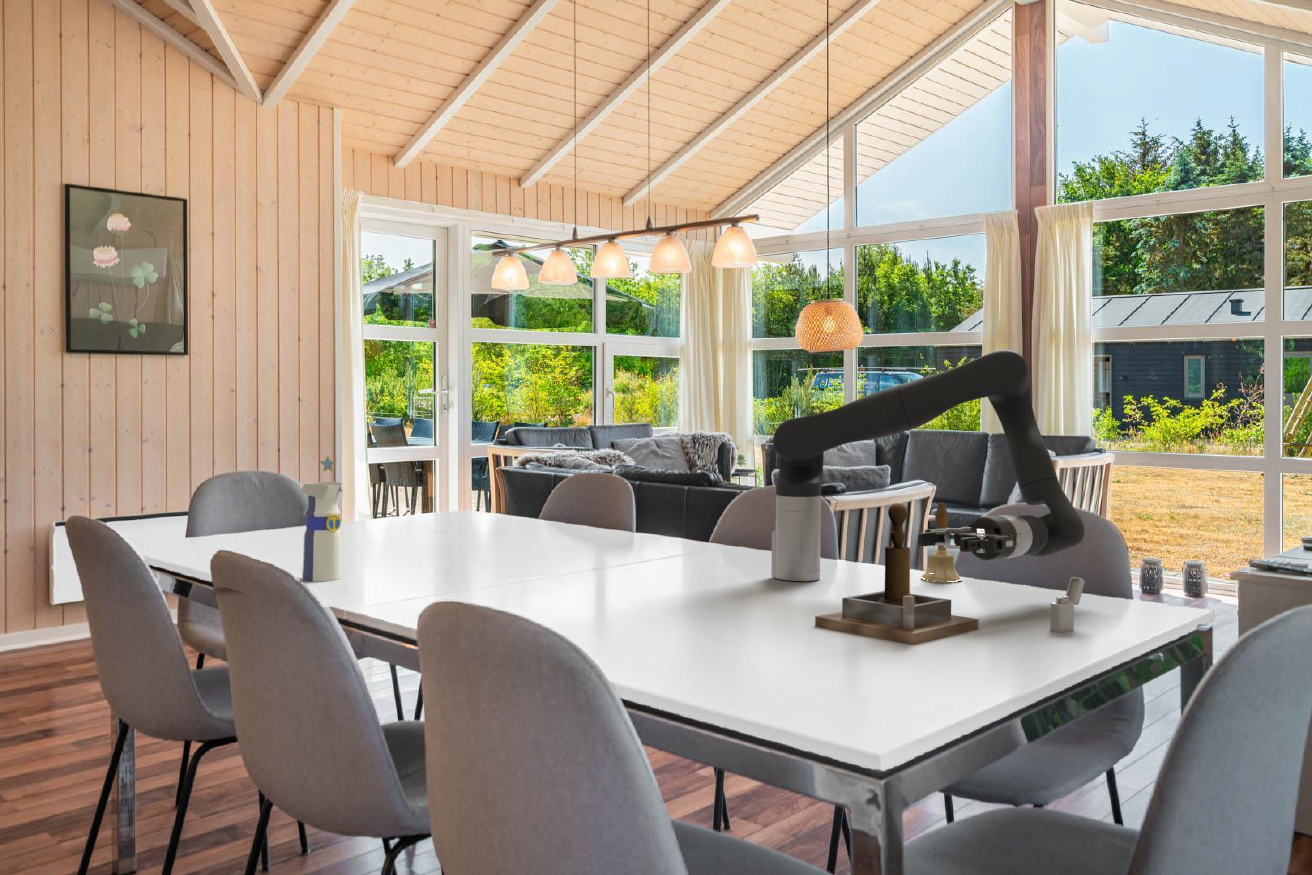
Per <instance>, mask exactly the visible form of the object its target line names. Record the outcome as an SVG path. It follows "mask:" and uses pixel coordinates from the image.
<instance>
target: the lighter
mask: <svg viewBox="0 0 1312 875" xmlns="http://www.w3.org/2000/svg"><path fill="white" fill-rule="evenodd" d="M1085 582H1086V581H1085V580H1084V579H1083V578H1081V577H1078V576H1070V579H1069V581H1068V585H1067V586H1068V587H1067V588H1066V589H1067V590H1066V593H1065V595H1060V596H1056V601H1055V602H1050V605H1049V606H1050V610H1049V611H1050V612H1049V618H1050V623H1049V624H1050V626H1049V627H1050V628H1049V630H1050V632H1054V633H1063V632H1068V631H1073V630H1074V628H1075V622H1074V620H1075V606H1078V605H1079V604H1080V600H1081V598H1082V594H1083V590H1084V586H1085Z"/></svg>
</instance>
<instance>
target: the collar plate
mask: <svg viewBox="0 0 1312 875" xmlns="http://www.w3.org/2000/svg"><path fill="white" fill-rule="evenodd" d="M882 597H885V590H882V591H876V592H871V593H870V592H869V593H864V594H858V595H853V596H847V597H845V596H844V597H842V600H841V601H842V602H841V604H842V605H841V606H842V608H841V609H842V610H841V611H838V612H833V613H827V614H822V615H815V616H814V626H815V627H819V628H824V629H830V630H836V631H841V632H845V633H850V634H856V635H860V636H861V635H862V636H866V637H872V638H876V639H881V640H887V641H893V642H896V643H897V642H899V643H904V644H909V645H914V644H919V643H924V642H928V641H933V640H936V639H941V638H944V637H948V636H954V635H958V634H963V633H966V632H971V631H975V630H978V629H979V619H978V618H974V617H973V618H972V617H966V616H961V615H953V614H952V599H950V598H949V599H948V598H941V597H935V596H927V595H921V594H915V593H910V596H903V606H898V605H891V604H885V603H879V602H877V601H879V600H880V598H882ZM914 601H915V602H916V603H918V604H917V605H914Z"/></svg>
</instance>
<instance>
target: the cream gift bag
mask: <svg viewBox="0 0 1312 875" xmlns="http://www.w3.org/2000/svg"><path fill="white" fill-rule="evenodd" d="M336 462H337V461H335V460H331V459H330V457H329V455H327V456H326V458H325V459H324V460H320V461H319V464H321V465H323V469H322V472H323V473H324V472H327V471H331V472H333V473H334V468H333V465H335V464H336ZM301 493H302V494H304V495H306V498H307V506H306V509H305V511H304V512H303V513H304V515H305V516H306V517H305V518H306V519H305V520H306V523H305V525H306V526H305V528H306V529H305V531H304V534H303V551H302V554H303V557H302V558H303V560H302V571H301V572H302V575H301V576H302V577H301V580H302V581H305V582H329V581H330V582H331V581H337V580H341V579H342V578H343V575H342V574H343V572H342V552H341V551H342V547H341V546H342V544H341V543H342V539H341V538H342V536H341V531H340V528H341V525H342V520H341V519H342V518H340V516H339V515H340V514H341V511H340V509H339V506H338V497H339V493H341V496H340V500H342V499H343V497H344V484H343V482H338V481H315V482H314V481H312V482H304V483H303V486H302V488H301Z"/></svg>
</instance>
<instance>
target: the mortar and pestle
mask: <svg viewBox="0 0 1312 875" xmlns="http://www.w3.org/2000/svg"><path fill="white" fill-rule="evenodd" d="M908 514H909V510H908V508H907V506H906V505H904V504H903V503H892V504H891V505H890V507H888V510H887V515H888V517H889V520H890V521H891V523H892V526H893V528H892V531H890V537H891V542H892V545H889V546H884V591H885V597H882V598H880V600H879V601H877V602H879V603H885V604H891V605H898V606H903V596H910V594H911V547H909V546H904V545H903V544H904V542H905V537H906V531H904V528H903V526H904V523H905V521H906V519H907V518H908ZM917 604H918V603H916V602H915V601H914V605H917Z"/></svg>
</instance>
